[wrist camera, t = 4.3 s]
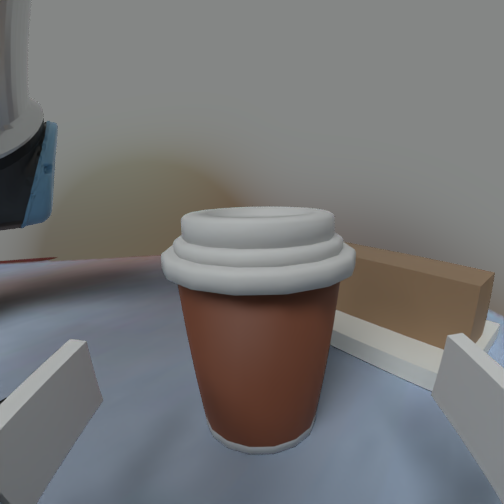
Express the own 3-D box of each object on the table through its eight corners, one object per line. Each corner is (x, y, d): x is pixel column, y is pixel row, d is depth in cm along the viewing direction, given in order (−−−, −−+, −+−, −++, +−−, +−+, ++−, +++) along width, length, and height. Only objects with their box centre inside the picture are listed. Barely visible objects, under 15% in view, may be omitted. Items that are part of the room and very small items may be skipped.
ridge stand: (251, 305, 36) (250, 243, 34) (326, 284, 42) (327, 232, 41) (453, 400, 16) (480, 303, 15) (496, 338, 22) (511, 267, 21)
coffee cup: (362, 450, 14) (399, 219, 11) (187, 482, 12) (143, 230, 9) (307, 368, 22) (313, 204, 20) (183, 383, 21) (165, 209, 18)
